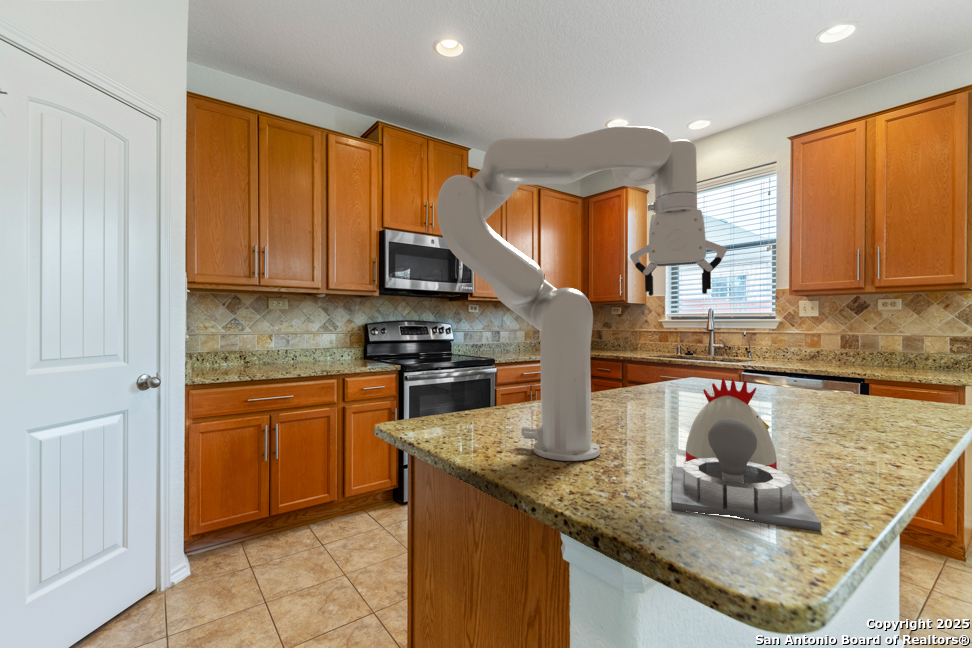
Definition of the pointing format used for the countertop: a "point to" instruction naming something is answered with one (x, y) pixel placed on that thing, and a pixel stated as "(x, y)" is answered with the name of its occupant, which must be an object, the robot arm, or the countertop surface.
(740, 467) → the light bulb
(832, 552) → the countertop surface
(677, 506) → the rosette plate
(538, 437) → the robot arm
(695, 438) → the kitchen timer
